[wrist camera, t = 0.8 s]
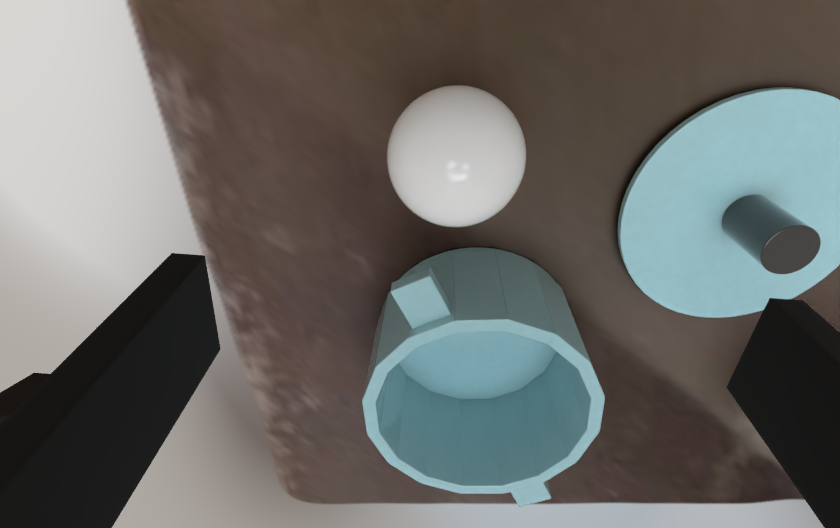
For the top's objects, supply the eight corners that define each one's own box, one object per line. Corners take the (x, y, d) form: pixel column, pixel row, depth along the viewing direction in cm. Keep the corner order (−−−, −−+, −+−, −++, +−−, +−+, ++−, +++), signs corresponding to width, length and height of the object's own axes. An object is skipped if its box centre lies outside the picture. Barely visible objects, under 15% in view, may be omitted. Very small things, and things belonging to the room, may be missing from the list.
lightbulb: (446, 36, 28) (448, 64, 18) (529, 110, 30) (570, 171, 20) (379, 126, 30) (349, 191, 21) (458, 189, 32) (465, 276, 23)
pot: (517, 179, 32) (540, 239, 24) (604, 392, 40) (641, 485, 33) (325, 261, 35) (293, 336, 28) (442, 442, 43) (442, 536, 36)
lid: (861, 35, 27) (955, 47, 22) (876, 260, 33) (952, 308, 28) (584, 153, 31) (612, 186, 26) (646, 336, 37) (677, 390, 32)
